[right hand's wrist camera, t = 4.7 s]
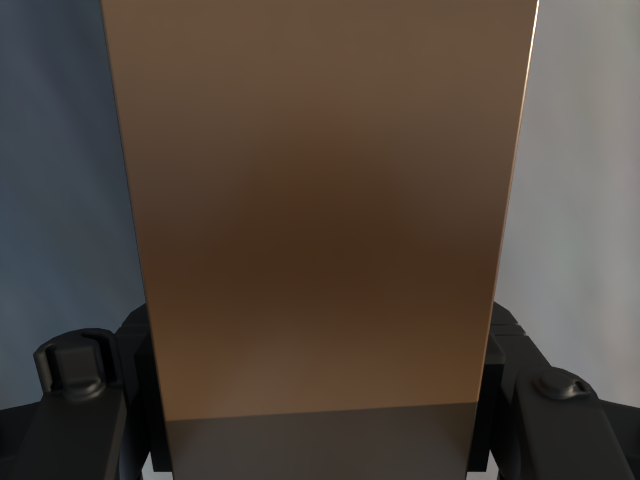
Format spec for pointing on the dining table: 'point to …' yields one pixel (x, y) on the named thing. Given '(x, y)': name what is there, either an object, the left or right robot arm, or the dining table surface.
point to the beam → (319, 223)
